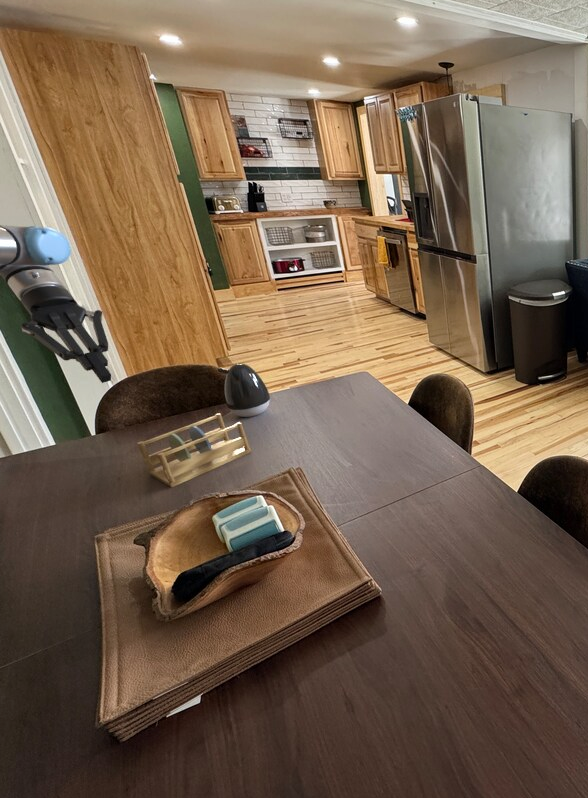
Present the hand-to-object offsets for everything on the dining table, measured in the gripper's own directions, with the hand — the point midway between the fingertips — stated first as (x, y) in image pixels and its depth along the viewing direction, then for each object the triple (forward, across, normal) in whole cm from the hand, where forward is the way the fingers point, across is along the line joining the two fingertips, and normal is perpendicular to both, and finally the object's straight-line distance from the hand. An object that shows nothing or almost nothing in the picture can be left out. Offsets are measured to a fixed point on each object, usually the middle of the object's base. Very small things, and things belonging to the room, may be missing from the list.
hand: (106, 378), depth 104 cm
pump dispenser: (+12, +27, +20) cm, 35 cm away
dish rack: (+25, +6, +4) cm, 26 cm away
